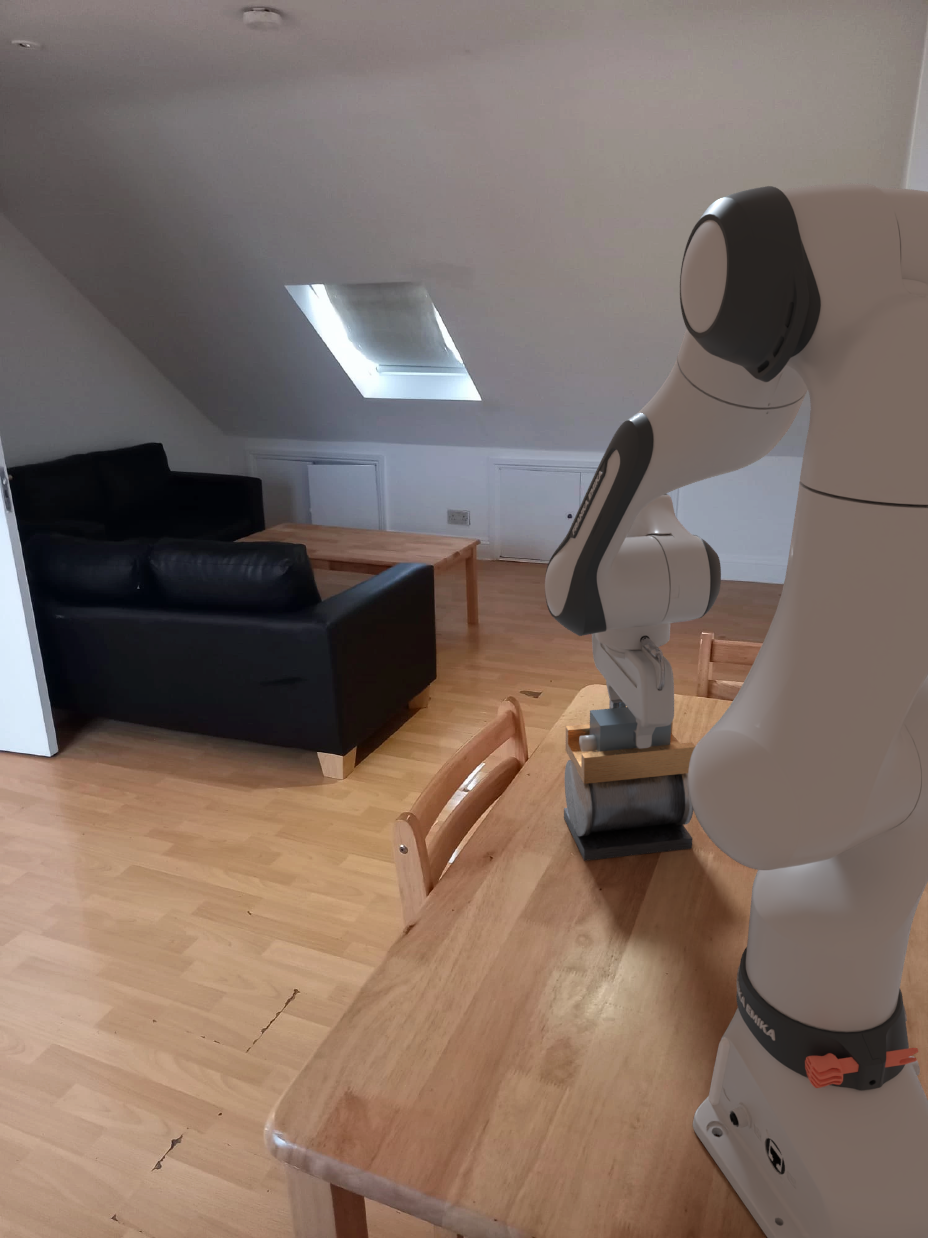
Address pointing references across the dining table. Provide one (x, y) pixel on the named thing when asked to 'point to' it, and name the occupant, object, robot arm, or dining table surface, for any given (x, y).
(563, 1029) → the dining table surface
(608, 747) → the blue-grey rectangular block
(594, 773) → the wood-topped grey cylinder
